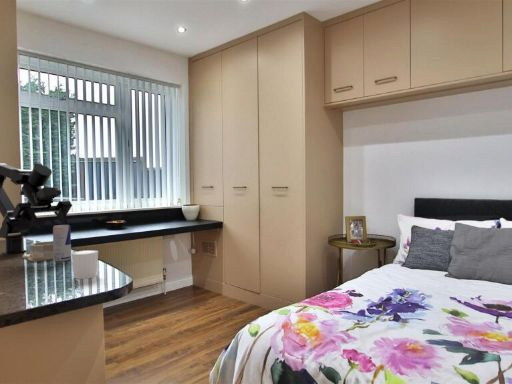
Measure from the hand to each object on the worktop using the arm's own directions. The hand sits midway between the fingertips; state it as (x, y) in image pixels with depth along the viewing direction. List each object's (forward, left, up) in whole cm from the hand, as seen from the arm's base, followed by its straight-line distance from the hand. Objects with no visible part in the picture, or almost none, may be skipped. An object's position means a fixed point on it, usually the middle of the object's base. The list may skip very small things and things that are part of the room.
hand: (53, 226), depth 126 cm
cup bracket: (-5, -1, -11) cm, 13 cm away
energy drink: (+5, +1, -12) cm, 13 cm away
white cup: (+34, -4, -12) cm, 36 cm away
